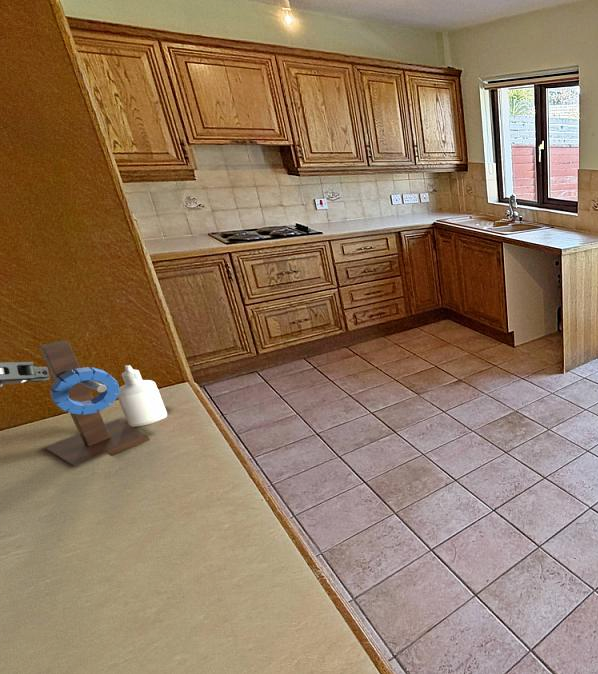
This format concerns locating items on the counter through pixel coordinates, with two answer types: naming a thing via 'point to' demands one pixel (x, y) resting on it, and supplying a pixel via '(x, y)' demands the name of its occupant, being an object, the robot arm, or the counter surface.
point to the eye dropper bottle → (140, 399)
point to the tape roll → (81, 374)
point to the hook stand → (87, 415)
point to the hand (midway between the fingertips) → (14, 381)
